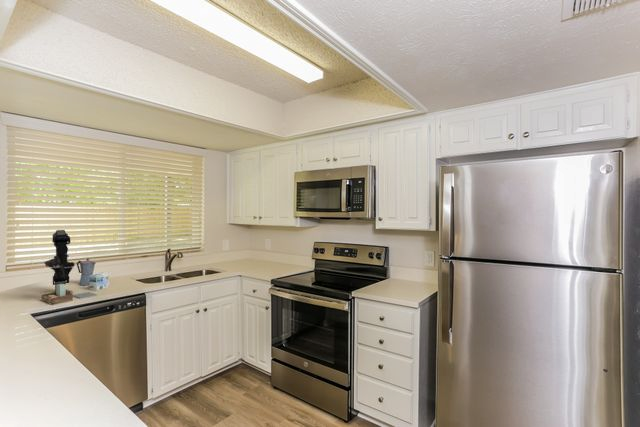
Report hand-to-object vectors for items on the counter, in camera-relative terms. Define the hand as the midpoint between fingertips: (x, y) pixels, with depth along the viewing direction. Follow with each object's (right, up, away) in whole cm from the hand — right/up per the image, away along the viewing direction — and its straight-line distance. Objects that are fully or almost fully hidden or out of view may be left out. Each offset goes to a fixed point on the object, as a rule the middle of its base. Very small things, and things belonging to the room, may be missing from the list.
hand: (61, 278), depth 206 cm
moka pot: (-16, -13, +44) cm, 48 cm away
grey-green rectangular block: (-1, -14, 0) cm, 14 cm away
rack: (-2, -14, -2) cm, 14 cm away
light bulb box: (+3, -14, +31) cm, 34 cm away
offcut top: (-3, -12, -4) cm, 13 cm away
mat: (+6, -14, +11) cm, 19 cm away
